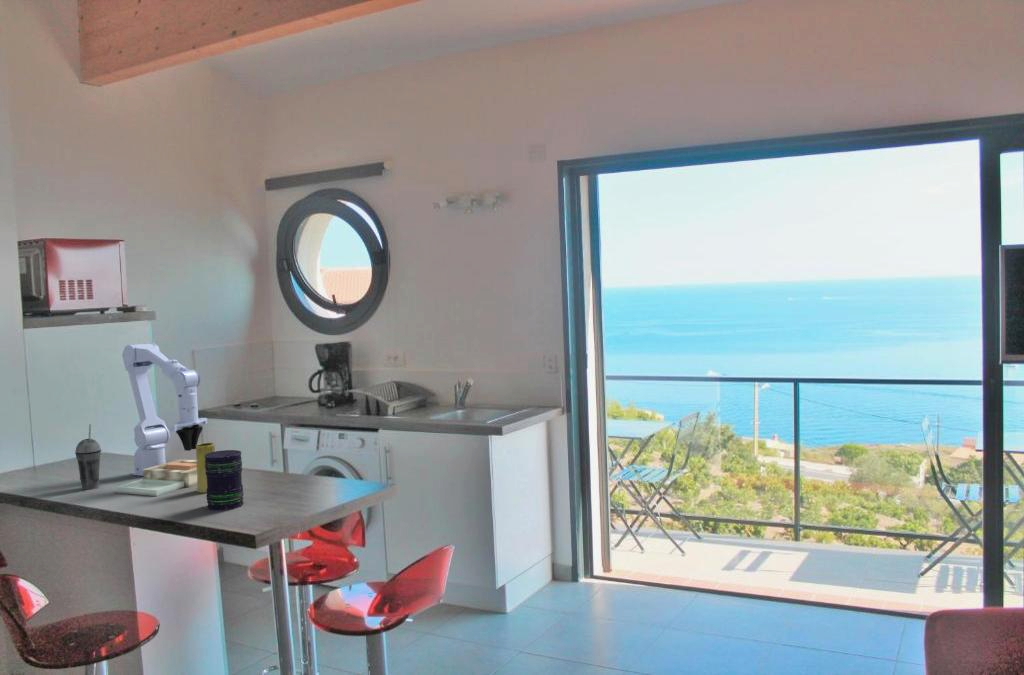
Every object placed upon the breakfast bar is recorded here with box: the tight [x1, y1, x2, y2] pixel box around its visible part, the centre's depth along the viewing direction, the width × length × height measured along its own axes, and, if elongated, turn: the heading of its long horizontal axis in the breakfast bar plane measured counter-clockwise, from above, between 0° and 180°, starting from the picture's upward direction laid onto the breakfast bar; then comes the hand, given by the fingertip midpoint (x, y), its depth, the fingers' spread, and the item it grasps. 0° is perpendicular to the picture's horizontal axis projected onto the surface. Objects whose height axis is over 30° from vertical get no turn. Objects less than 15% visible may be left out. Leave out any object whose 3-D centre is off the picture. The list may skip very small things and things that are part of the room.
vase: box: [195, 442, 216, 494], centre depth 242 cm, size 6×6×14 cm
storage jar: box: [205, 449, 245, 512], centre depth 223 cm, size 10×10×15 cm
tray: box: [115, 478, 185, 497], centre depth 245 cm, size 16×11×2 cm
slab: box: [166, 462, 197, 471], centre depth 258 cm, size 10×4×3 cm, turn 69°
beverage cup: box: [74, 424, 102, 491], centre depth 249 cm, size 7×7×20 cm
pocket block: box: [142, 458, 197, 488], centre depth 258 cm, size 18×16×4 cm
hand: (190, 449), depth 256 cm, fingers closed
